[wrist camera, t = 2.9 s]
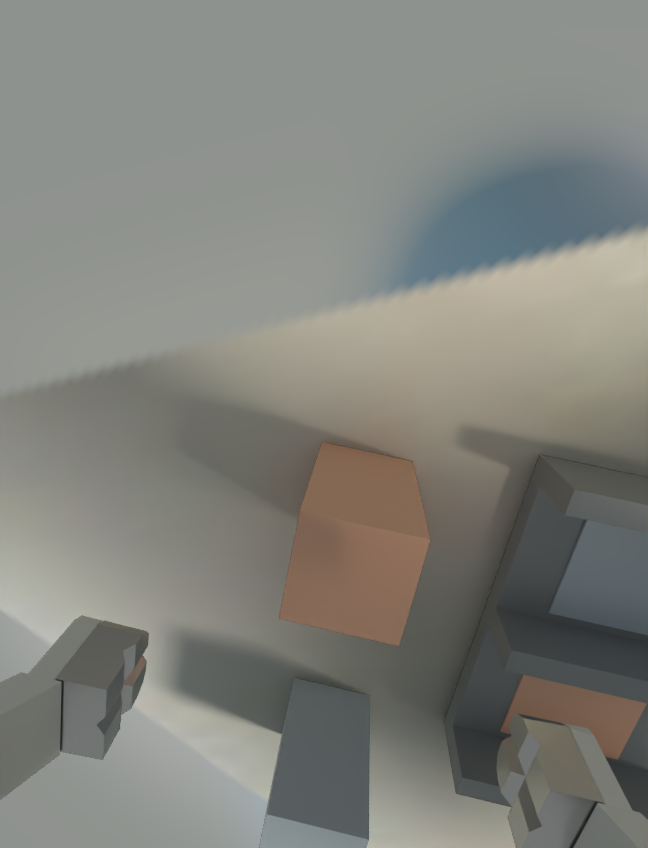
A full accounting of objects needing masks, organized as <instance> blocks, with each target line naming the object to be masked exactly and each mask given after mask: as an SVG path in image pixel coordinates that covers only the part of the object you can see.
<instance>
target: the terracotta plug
mask: <svg viewBox="0 0 648 848" xmlns="http://www.w3.org/2000/svg"><path fill="white" fill-rule="evenodd" d="M430 541H431V539H430V535H429V530H428V526H427V522H426V517H425V513H424V509H423V504H422V500H421V496H420V491H419V487H418V483H417V478H416V474H415V470H414V466H413V461H408V460H404V459H399V458H394V457H390V456H385V455H380V454H376V453H371V452H366V451H362V450H357V449H352V448H348V447H343V446H339V445H334V444H329V443H325V442H322V444H321V447H320V450H319V453H318V456H317V459H316V462H315V465H314V469H313V472H312V475H311V478H310V481H309V484H308V487H307V490H306V493H305V496H304V499H303V502H302V506H301V509H300V512H299V517H298V523H297V528H296V533H295V538H294V543H293V548H292V553H291V558H290V563H289V569H288V574H287V579H286V584H285V589H284V594H283V599H282V604H281V609H280V615H279V619H283V620H287V621H292V622H296V623H300V624H304V625H309V626H313V627H317V628H322V629H326V630H330V631H335V632H339V633H343V634H348V635H352V636H356V637H361V638H365V639H369V640H373V641H378V642H382V643H386V644H391V645H395V646H399V645H400V642H401V638H402V635H403V631H404V628H405V625H406V621H407V618H408V615H409V611H410V608H411V605H412V601H413V598H414V595H415V591H416V588H417V584H418V581H419V578H420V574H421V571H422V568H423V564H424V561H425V558H426V554H427V551H428V547H429V544H430Z"/></svg>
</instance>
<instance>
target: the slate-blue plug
mask: <svg viewBox="0 0 648 848" xmlns="http://www.w3.org/2000/svg"><path fill="white" fill-rule="evenodd" d="M369 745H370V696H369V695H365V694H360V693H356V692H352V691H348V690H344V689H339V688H335V687H331V686H327V685H322V684H318V683H314V682H310V681H306V680H301V679H297V678H294V681H293V685H292V690H291V695H290V699H289V704H288V708H287V713H286V717H285V722H284V727H283V731H282V736H281V741H280V746H279V751H278V756H277V760H276V765H275V770H274V775H273V780H272V785H271V790H270V795H269V800H268V805H267V810H266V815H265V819H264V824H263V829H262V834H261V839H260V844H259V848H366V847H367V844H368V841H369Z"/></svg>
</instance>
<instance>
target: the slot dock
mask: <svg viewBox="0 0 648 848" xmlns="http://www.w3.org/2000/svg"><path fill="white" fill-rule="evenodd" d="M517 713H518V714H522V715H527V716H532V717H537V718H541V719H546V720H551V721H556V722H560V723H562V724H563V723H565V724H570V725H574V726H579V727H584V728H588V729H589V730H590V731H591V732H592V733H593V735H594V736H595V738H596V740H597V742H598V744H599V746H600V748H601V750H602V752H603V754H604V756H605V758H606V760H607V762H608V764H609V766H610V768H611V770H612V771H613V773H614V775H615V777H616V779H617V781H618V783H619V785H620V787H621V789H622V791H623V793H624V795H625V797H626V799H627V801H628V803H629V805H630V807H631V809H632V810H633V811H636V812H640V813H641V814H642V815H643V816H644V817H645V818H646V819H647V820H648V477H643V476H638V475H633V474H629V473H624V472H619V471H615V470H610V469H605V468H601V467H596V466H591V465H586V464H582V463H577V462H572V461H568V460H563V459H558V458H553V457H549V456H544V455H539V458H538V460H537V463H536V466H535V469H534V472H533V474H532V477H531V480H530V483H529V486H528V488H527V491H526V494H525V497H524V500H523V502H522V505H521V508H520V511H519V514H518V516H517V519H516V522H515V525H514V528H513V530H512V533H511V536H510V539H509V542H508V544H507V547H506V550H505V553H504V556H503V558H502V561H501V564H500V567H499V570H498V572H497V575H496V578H495V581H494V584H493V587H492V589H491V592H490V595H489V598H488V601H487V603H486V606H485V609H484V612H483V615H482V617H481V620H480V623H479V626H478V629H477V631H476V634H475V637H474V640H473V643H472V645H471V648H470V651H469V654H468V657H467V659H466V662H465V665H464V668H463V671H462V673H461V676H460V679H459V682H458V685H457V687H456V690H455V693H454V696H453V699H452V701H451V704H450V707H449V710H448V713H447V715H446V718H445V721H444V724H445V731H446V737H447V743H448V749H449V755H450V761H451V767H452V773H453V779H454V785H455V791H456V794H460V795H464V796H468V797H472V798H476V799H480V800H484V801H489V802H493V803H497V804H501V805H505V806H509V807H512V806H511V805H510V804H509V802H508V801H507V800H506V798H505V797H504V796H503V795H502V793H501V790H500V786H499V782H498V777H497V768H496V767H497V753H498V750H499V748H500V745H501V742H502V741H503V740H505V739H506V738H508V737H510V736H511V733H510V729H509V723H510V721H511V719H512V717H513V716H514V715H516V714H517Z"/></svg>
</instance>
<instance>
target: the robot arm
mask: <svg viewBox="0 0 648 848" xmlns="http://www.w3.org/2000/svg"><path fill="white" fill-rule="evenodd" d="M148 639H149V633H148V632H147V631H144V630H140V629H136V628H132V627H128V626H124V625H120V624H116V623H112V622H108V621H102V620H98V619H94V618H90V617H86V616H80V617H79V618H77V619H75V620H74V621H73V622H72V624H71V625H70V626H69V627H68V628H67V629H66V630H65V632H64V633H63V634H62V635H61V636H60V637H59V639H58V640H57V641H56V642H55V643H54V644H53V646H52V647H51V648H50V649H49V650H48V651H47V653H46V654H45V655H44V656H43V657H42V658H41V660H40V661H39V662H38V663H37V664H36V665H35V666H34V668H33V669H32V670H31V671H30V672H29V673H28V674H26V673H19V674H17V675H15V676H13V677H11V678H9V679H6V680H4V681H2V682H0V800H1V799H2V798H4V797H5V796H6V795H8V794H9V793H10V792H12V791H13V790H14V789H15V788H17V787H18V786H19V785H21V784H22V783H23V782H25V781H26V780H27V779H29V778H30V777H31V776H32V775H34V774H35V773H36V772H38V771H39V770H40V769H42V768H43V767H44V766H46V765H47V764H48V763H50V762H51V761H52V760H54V759H55V758H56V757H57V756H59V755H60V752H65V753H70V754H75V755H80V756H85V757H90V758H95V759H100V760H103V758H104V756H105V754H106V753H107V751H108V749H109V747H110V746H111V744H112V742H113V740H114V738H115V736H116V735H117V733H118V731H119V729H120V722H121V715H122V714H124V713H125V712H127V711H128V710H129V709H131V707H132V706H133V704H134V702H135V700H136V698H137V696H138V693H139V691H140V688H141V686H142V683H143V680H144V675H145V671H146V663H147V661H146V660H145V658H144V656H143V653H144V652H145V650H146V648H147V646H148ZM509 729H510V733H511V736H510V737H508V738H506V739H505V740H503V741H502V742H501V745H500V748H499V750H498V753H497V767H496V768H497V777H498V782H499V786H500V790H501V793H502V795H503V796H504V797H505V798H506V800H507V801H508V802H509V804H510V805H511V806H512V808H511V810H510V812H509V815H508V820H509V824H510V828H511V831H512V835H513V839H514V842H515V846H516V848H648V820H647V819H646V818H645V817H644V816H643V815H642V814H641V813H640V812H636V811H633V810H632V809H631V807H630V805H629V803H628V801H627V799H626V797H625V795H624V793H623V791H622V789H621V787H620V785H619V783H618V781H617V779H616V777H615V775H614V773H613V771H612V770H611V768H610V766H609V764H608V762H607V760H606V758H605V756H604V754H603V752H602V750H601V748H600V746H599V744H598V742H597V740H596V738H595V736H594V735H593V733H592V732H591V731H590V730H589V729H588V728H584V727H579V726H574V725H570V724H565V723H563V724H562V723H560V722H556V721H551V720H546V719H541V718H537V717H532V716H527V715H522V714H518V713H517V714H516V715H514V716H513V717H512V719H511V721H510V723H509Z"/></svg>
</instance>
